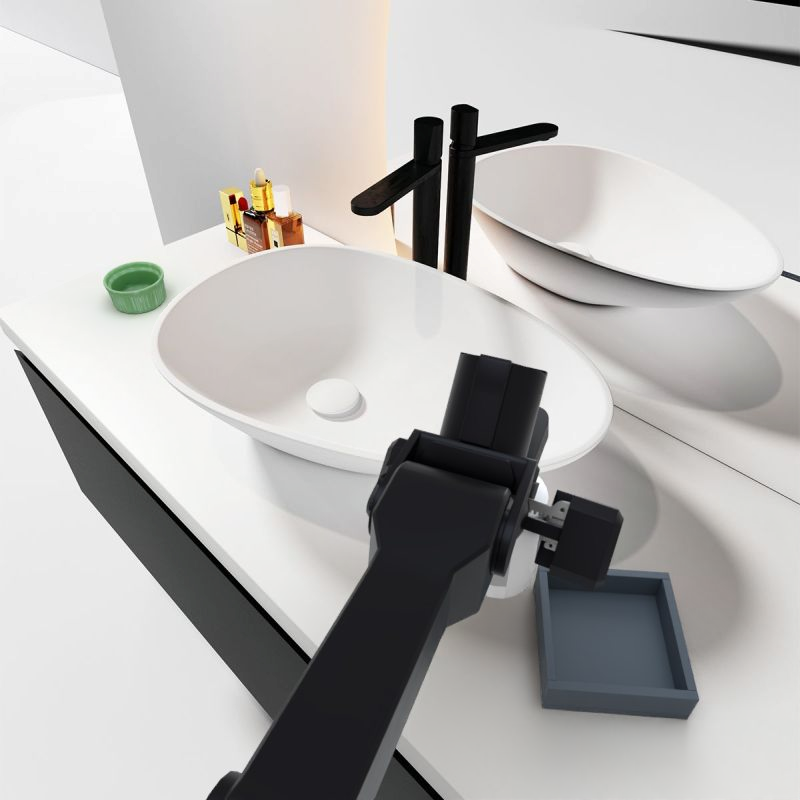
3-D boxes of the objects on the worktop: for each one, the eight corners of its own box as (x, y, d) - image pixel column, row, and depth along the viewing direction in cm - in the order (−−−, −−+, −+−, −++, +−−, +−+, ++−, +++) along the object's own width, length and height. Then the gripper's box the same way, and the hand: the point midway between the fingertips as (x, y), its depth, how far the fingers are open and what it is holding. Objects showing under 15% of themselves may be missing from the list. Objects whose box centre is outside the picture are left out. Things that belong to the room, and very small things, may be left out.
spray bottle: (466, 534, 69) (480, 398, 57) (535, 546, 68) (564, 410, 56) (455, 592, 64) (467, 456, 52) (529, 607, 63) (559, 471, 51)
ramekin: (149, 321, 106) (141, 296, 103) (99, 310, 108) (90, 286, 105) (180, 289, 112) (174, 266, 109) (132, 280, 114) (125, 257, 111)
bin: (687, 719, 61) (699, 700, 58) (542, 708, 62) (548, 688, 59) (659, 593, 70) (668, 572, 68) (533, 585, 71) (538, 563, 68)
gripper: (649, 442, 44) (643, 451, 59) (386, 364, 50) (440, 390, 65) (597, 610, 44) (604, 577, 59) (339, 511, 50) (404, 504, 65)
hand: (509, 505), depth 62 cm, fingers closed on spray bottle, 7 cm apart
